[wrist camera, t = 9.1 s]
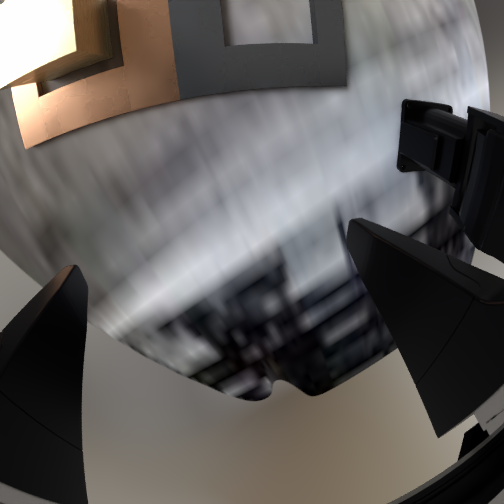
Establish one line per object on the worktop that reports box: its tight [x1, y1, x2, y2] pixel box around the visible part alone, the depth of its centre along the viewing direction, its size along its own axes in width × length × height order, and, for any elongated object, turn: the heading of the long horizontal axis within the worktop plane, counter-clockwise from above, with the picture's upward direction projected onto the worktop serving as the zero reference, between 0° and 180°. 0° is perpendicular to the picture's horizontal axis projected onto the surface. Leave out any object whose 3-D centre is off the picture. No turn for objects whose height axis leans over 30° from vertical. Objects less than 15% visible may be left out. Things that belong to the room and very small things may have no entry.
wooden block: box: [0, 0, 113, 90], centre depth 9 cm, size 4×4×7 cm
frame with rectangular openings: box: [5, 0, 346, 149], centre depth 12 cm, size 22×12×1 cm, turn 94°
